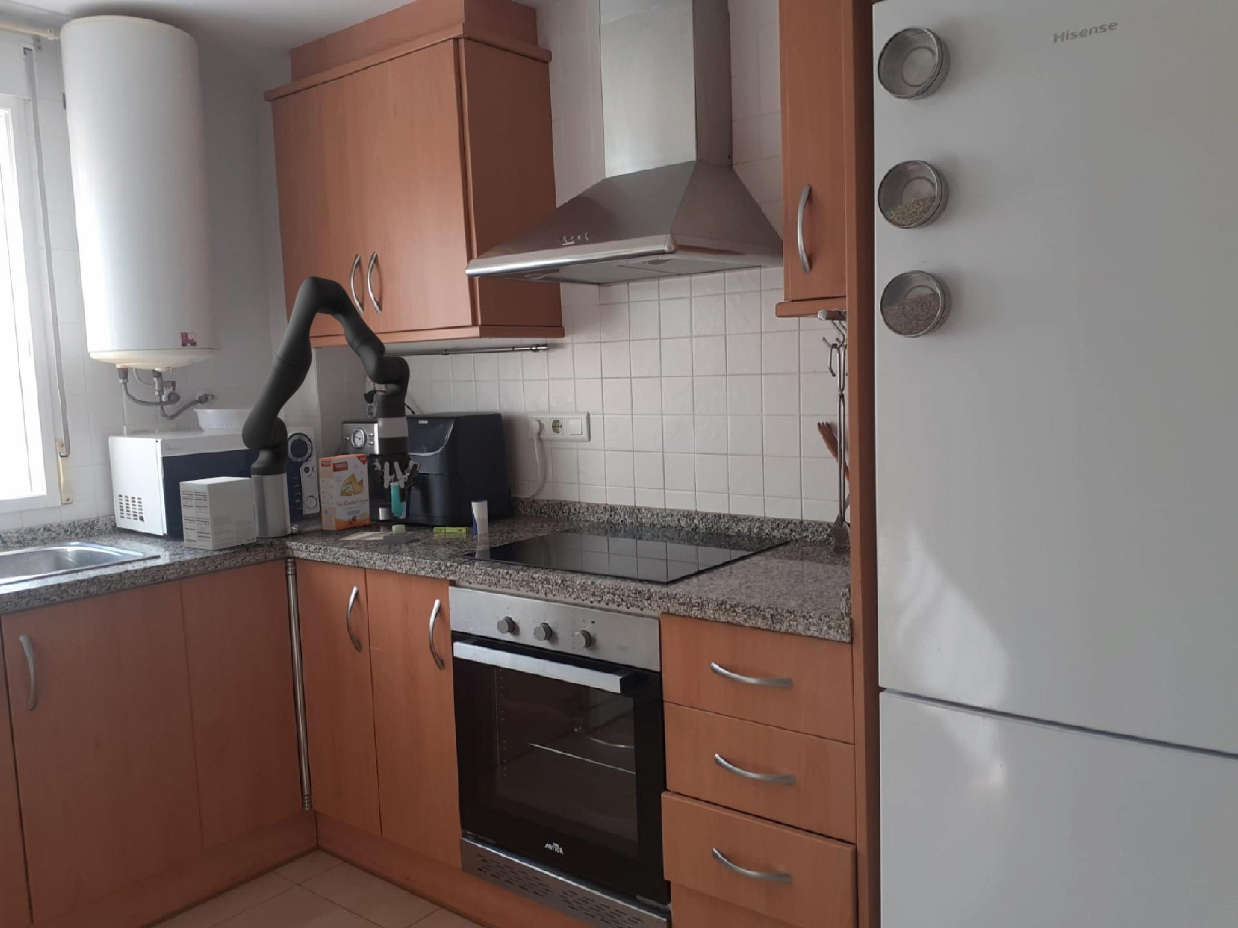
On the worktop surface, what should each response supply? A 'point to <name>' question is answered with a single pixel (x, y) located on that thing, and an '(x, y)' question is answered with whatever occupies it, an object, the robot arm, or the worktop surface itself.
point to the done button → (398, 529)
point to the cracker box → (344, 491)
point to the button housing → (399, 538)
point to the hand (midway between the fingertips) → (397, 501)
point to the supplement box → (217, 512)
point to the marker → (396, 499)
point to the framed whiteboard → (366, 536)
